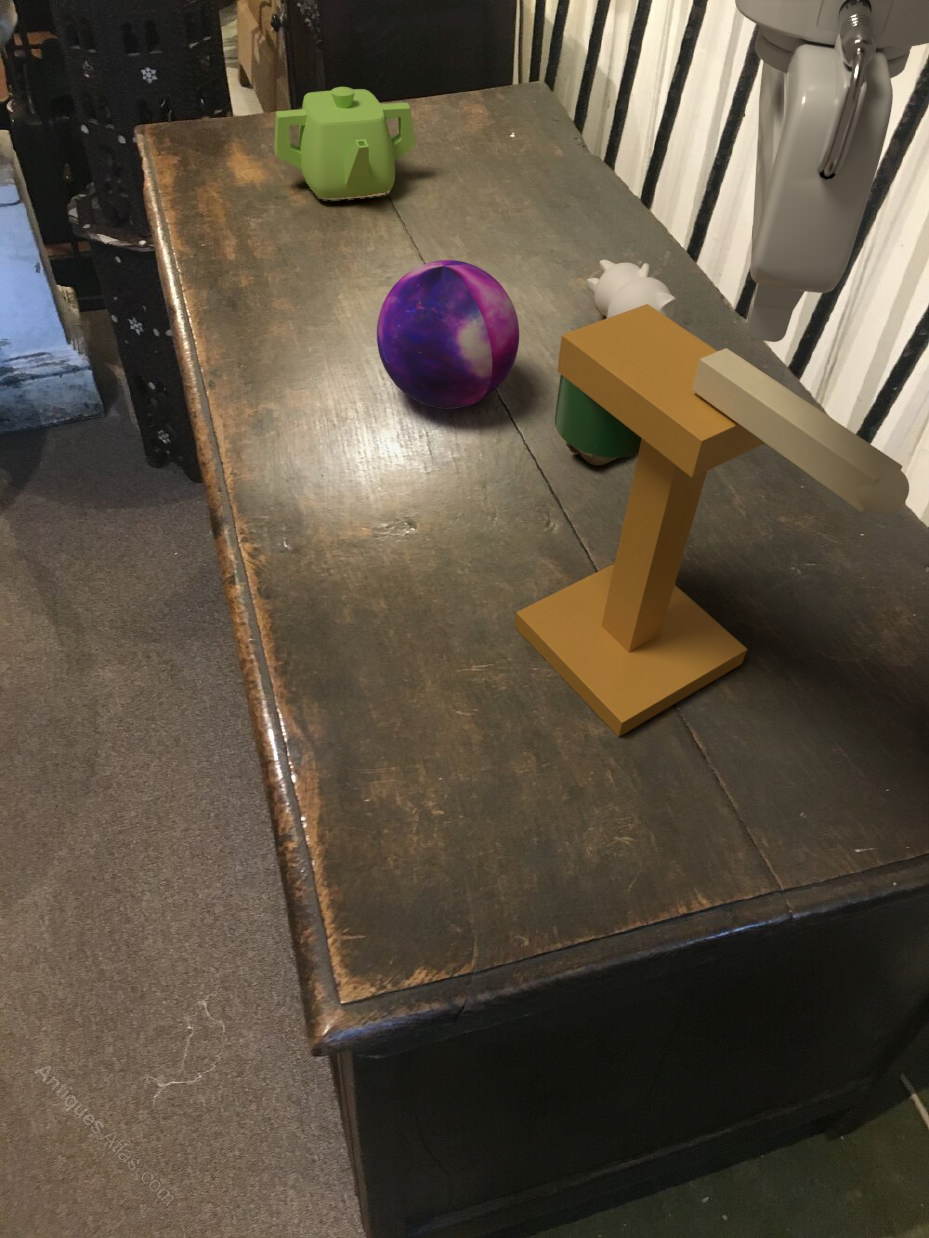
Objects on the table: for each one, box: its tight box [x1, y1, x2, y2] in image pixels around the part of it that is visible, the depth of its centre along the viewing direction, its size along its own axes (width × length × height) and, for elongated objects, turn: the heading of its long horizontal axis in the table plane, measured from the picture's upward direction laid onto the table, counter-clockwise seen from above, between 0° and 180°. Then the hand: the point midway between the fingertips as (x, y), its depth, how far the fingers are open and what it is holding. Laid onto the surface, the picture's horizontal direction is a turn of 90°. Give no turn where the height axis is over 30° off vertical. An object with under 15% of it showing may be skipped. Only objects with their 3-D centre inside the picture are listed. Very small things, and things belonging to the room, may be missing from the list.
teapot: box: [273, 86, 416, 202], centre depth 136 cm, size 18×20×13 cm
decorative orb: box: [376, 259, 520, 410], centre depth 102 cm, size 15×15×15 cm
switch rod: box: [692, 347, 910, 515], centre depth 58 cm, size 15×3×3 cm, turn 35°
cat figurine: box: [586, 259, 677, 321], centre depth 116 cm, size 9×11×12 cm
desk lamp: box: [514, 304, 766, 738], centre depth 75 cm, size 18×14×27 cm
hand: (765, 284), depth 49 cm, fingers open, 8 cm apart
